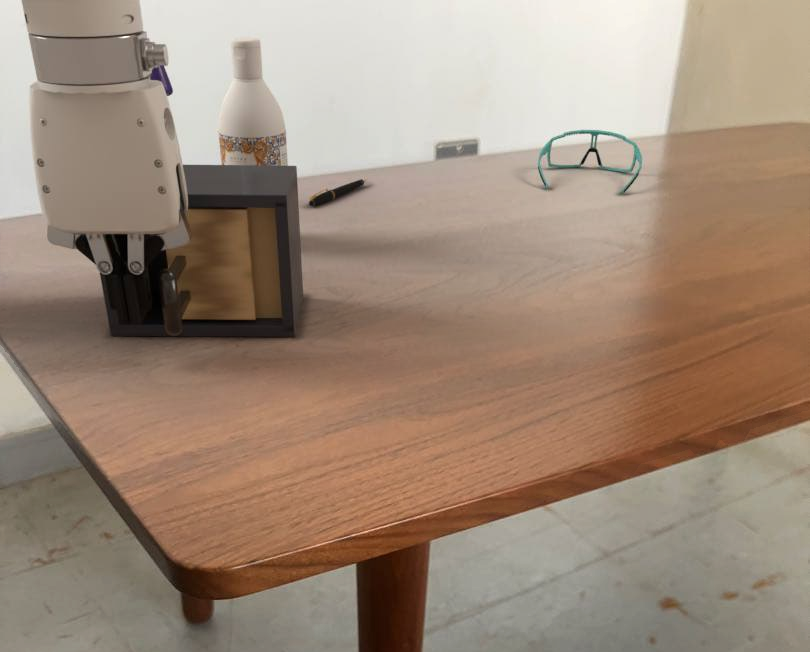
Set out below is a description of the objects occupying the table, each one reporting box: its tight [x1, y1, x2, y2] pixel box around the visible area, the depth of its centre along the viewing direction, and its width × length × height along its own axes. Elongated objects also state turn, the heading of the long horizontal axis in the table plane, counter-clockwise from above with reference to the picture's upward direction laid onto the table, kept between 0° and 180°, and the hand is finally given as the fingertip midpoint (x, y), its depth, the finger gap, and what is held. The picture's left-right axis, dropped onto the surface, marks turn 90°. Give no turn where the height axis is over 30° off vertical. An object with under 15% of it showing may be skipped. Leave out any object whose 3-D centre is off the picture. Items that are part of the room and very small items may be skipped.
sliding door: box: [158, 207, 257, 335], centre depth 75 cm, size 7×7×9 cm
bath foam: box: [217, 36, 289, 166], centre depth 96 cm, size 7×7×20 cm
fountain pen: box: [308, 178, 368, 207], centre depth 118 cm, size 14×1×2 cm, turn 151°
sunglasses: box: [537, 129, 643, 195], centre depth 127 cm, size 14×15×5 cm
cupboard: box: [99, 164, 304, 338], centre depth 81 cm, size 16×10×12 cm, turn 91°
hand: (133, 317), depth 73 cm, fingers closed
